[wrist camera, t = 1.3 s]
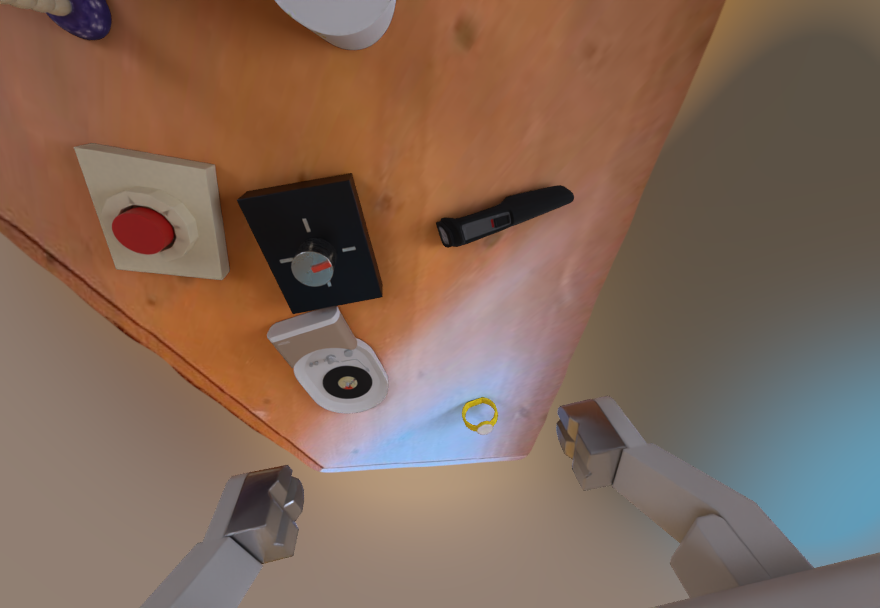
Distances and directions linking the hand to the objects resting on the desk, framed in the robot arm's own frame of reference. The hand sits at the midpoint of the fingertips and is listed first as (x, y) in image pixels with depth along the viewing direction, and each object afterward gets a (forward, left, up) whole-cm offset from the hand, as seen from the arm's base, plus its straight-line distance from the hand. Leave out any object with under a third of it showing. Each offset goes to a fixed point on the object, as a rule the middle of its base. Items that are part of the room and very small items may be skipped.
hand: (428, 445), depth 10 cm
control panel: (+5, -10, -32) cm, 34 cm away
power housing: (-1, -24, -32) cm, 40 cm away
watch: (+39, +6, -32) cm, 51 cm away
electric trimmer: (+5, +11, -32) cm, 34 cm away
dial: (+5, -10, -29) cm, 31 cm away
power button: (-1, -24, -28) cm, 37 cm away
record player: (+24, -14, -32) cm, 42 cm away
